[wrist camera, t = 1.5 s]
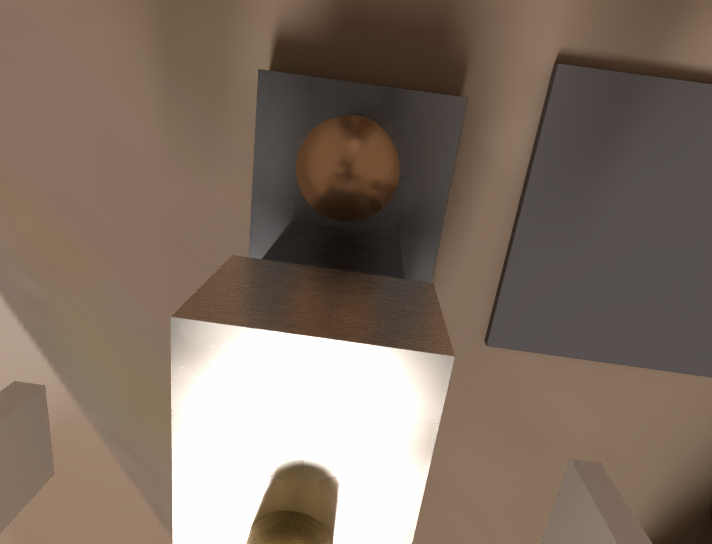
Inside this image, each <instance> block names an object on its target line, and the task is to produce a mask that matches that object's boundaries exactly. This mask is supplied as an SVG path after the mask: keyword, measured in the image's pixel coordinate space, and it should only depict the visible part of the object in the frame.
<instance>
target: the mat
mask: <svg viewBox="0 0 712 544" xmlns="http://www.w3.org/2000/svg"><path fill="white" fill-rule="evenodd" d="M485 343H486V346H491V347H498V348H505V349H512V350H519V351H526V352H534V353H541V354H548V355H555V356H562V357H569V358H577V359H584V360H591V361H598V362H605V363H613V364H620V365H627V366H634V367H641V368H648V369H656V370H663V371H670V372H677V373H684V374H692V375H699V376H706V377H712V84H706V83H699V82H691V81H684V80H676V79H669V78H662V77H654V76H647V75H640V74H632V73H625V72H617V71H610V70H603V69H595V68H588V67H580V66H573V65H566V64H554V68H553V72H552V76H551V80H550V84H549V87H548V91H547V95H546V99H545V103H544V107H543V111H542V115H541V119H540V123H539V127H538V131H537V135H536V139H535V143H534V147H533V151H532V155H531V159H530V163H529V167H528V171H527V175H526V179H525V183H524V187H523V191H522V195H521V199H520V203H519V207H518V211H517V215H516V219H515V223H514V227H513V231H512V235H511V239H510V243H509V247H508V251H507V255H506V259H505V263H504V266H503V270H502V274H501V278H500V282H499V286H498V290H497V294H496V298H495V302H494V306H493V310H492V314H491V318H490V322H489V326H488V330H487V334H486V338H485Z"/></svg>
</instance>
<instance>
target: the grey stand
mask: <svg viewBox="0 0 712 544" xmlns="http://www.w3.org/2000/svg"><path fill="white" fill-rule="evenodd" d="M467 99H468V98H467V97H460V96H452V95H445V94H438V93H430V92H423V91H416V90H408V89H401V88H394V87H386V86H379V85H371V84H364V83H357V82H349V81H342V80H335V79H327V78H320V77H313V76H305V75H298V74H291V73H283V72H276V71H268V70H261V69H258V89H257V108H256V128H255V147H254V167H253V186H252V206H251V226H250V245H249V258H257V259H264V260H271V261H278V262H286V263H293V264H300V265H307V266H314V267H322V268H329V269H336V270H343V271H350V272H358V273H365V274H372V275H379V276H387V277H394V278H401V279H408V280H415V281H423V282H430V283H431V282H432V276H433V271H434V266H435V261H436V256H437V251H438V246H439V241H440V236H441V231H442V226H443V221H444V216H445V211H446V205H447V200H448V195H449V190H450V185H451V180H452V175H453V170H454V165H455V160H456V155H457V150H458V145H459V140H460V134H461V129H462V124H463V119H464V114H465V109H466V104H467Z"/></svg>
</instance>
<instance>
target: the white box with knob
mask: <svg viewBox="0 0 712 544" xmlns="http://www.w3.org/2000/svg"><path fill="white" fill-rule="evenodd" d="M454 358H455V355H454V352H453V348H452V345H451V342H450V338H449V335H448V331H447V328H446V325H445V321H444V318H443V314H442V311H441V308H440V304H439V301H438V297H437V294H436V291H435V287H434V284H433V283H430V282H423V281H415V280H408V279H401V278H394V277H387V276H379V275H372V274H365V273H358V272H350V271H343V270H336V269H329V268H322V267H314V266H307V265H300V264H293V263H286V262H278V261H271V260H264V259H257V258H249V257H242V256H235V255H232V256H231V257H230V258H229V259H228V260H227V261H226V262H225V263H224V264H223V265H222V266H221V267H220V268H219V269H218V270H217V271H216V272H215V273H214V274H213V275H212V276H211V277H210V278H209V279H208V280H207V281H206V282H205V283H204V284H203V285H202V286H201V287H200V288H199V289H198V290H197V291H196V292H195V293H194V294H193V295H192V296H191V297H190V298H189V299H188V300H187V301H186V302H185V303H184V304H183V305H182V306H181V307H180V308H179V309H178V310H177V311H176V312H175V313H174V314H173V315H172V316H171V408H172V503H173V544H412V541H413V537H414V532H415V528H416V524H417V519H418V515H419V511H420V506H421V502H422V498H423V493H424V489H425V484H426V480H427V476H428V471H429V467H430V463H431V458H432V454H433V450H434V445H435V441H436V436H437V432H438V428H439V423H440V419H441V415H442V410H443V406H444V402H445V397H446V393H447V389H448V384H449V380H450V375H451V371H452V367H453V362H454Z"/></svg>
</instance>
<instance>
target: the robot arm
mask: <svg viewBox="0 0 712 544" xmlns="http://www.w3.org/2000/svg"><path fill="white" fill-rule="evenodd" d="M53 475H54V465H53V456H52V447H51V437H50V428H49V419H48V409H47V399H46V390H45V385H38V384H32V383H24V382H17V381H14V382H13V383H11V384H10V385H9V386H7V387H6V388H5V389H3V390H2V391H0V533H1V532H2V531H3V530H4V529H5V527H7V525H8V524H9V523H10V522H11V521H12V520H13V519H14V518H15V517H16V516H17V514H18V513H19V512H20V511H21V510H22V509H23V508H24V507H25V506H26V505H27V503H28V502H29V501H30V500H31V499H32V498H33V497H34V496H35V495H36V493H37V492H38V491H39V490H40V489H41V488H42V487H43V486H44V485H45V484H46V482H47V481H48V480H49V479H50V478H51V477H52V476H53ZM542 544H652V542H651V541H650V539H649V538H648V536H647V534H646V533H645V531H644V530H643V528H642V527H641V525H640V523H639V522H638V520H637V519H636V517H635V516H634V514H633V512H632V511H631V509H630V508H629V506H628V505H627V503H626V501H625V500H624V498H623V497H622V495H621V494H620V492H619V490H618V489H617V487H616V486H615V484H614V483H613V481H612V479H611V478H610V476H609V475H608V473H607V472H606V470H605V468H604V467H603V465H602V464H601V463H596V462H589V461H582V460H575V459H570V461H569V464H568V467H567V470H566V473H565V476H564V479H563V482H562V485H561V488H560V490H559V493H558V496H557V499H556V502H555V505H554V508H553V511H552V514H551V516H550V519H549V522H548V525H547V528H546V531H545V534H544V537H543V540H542Z"/></svg>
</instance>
